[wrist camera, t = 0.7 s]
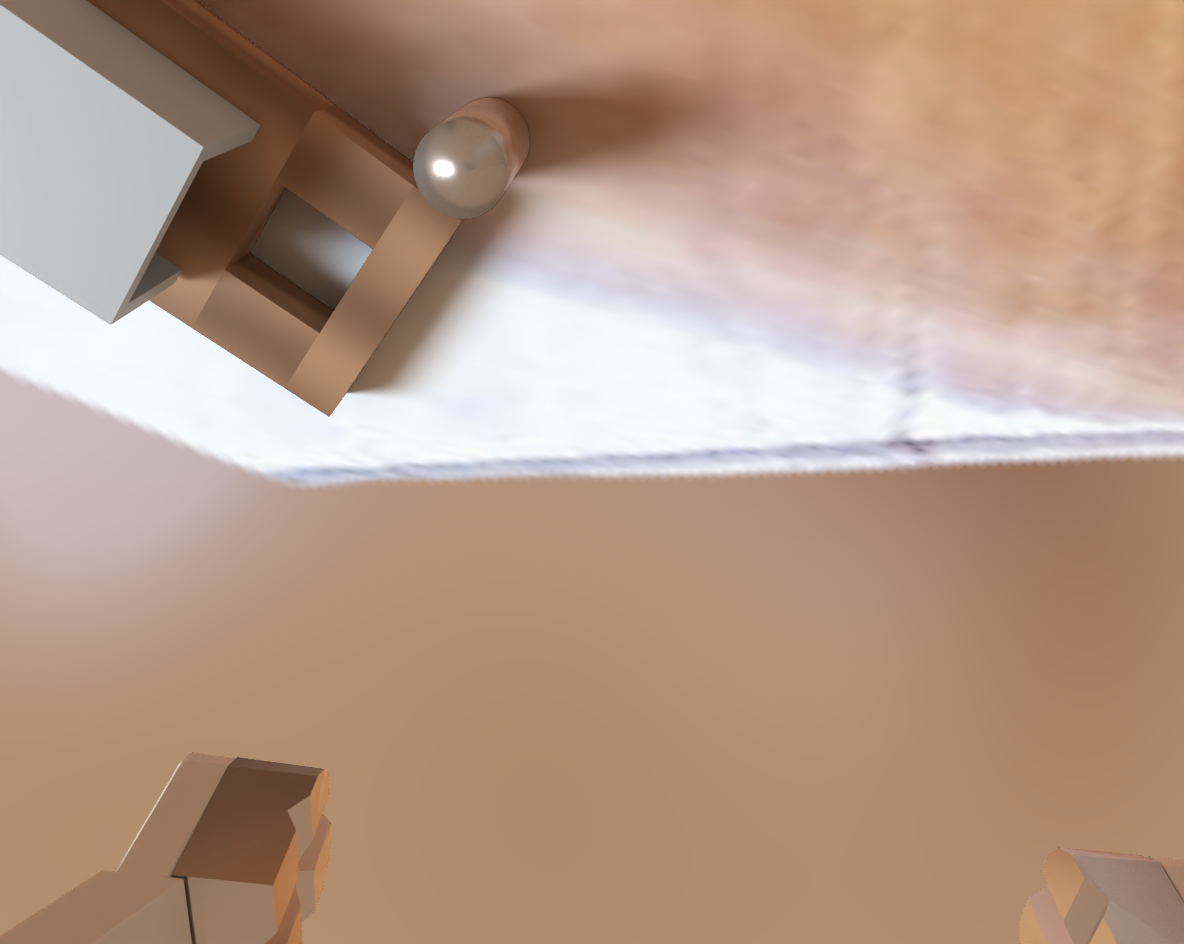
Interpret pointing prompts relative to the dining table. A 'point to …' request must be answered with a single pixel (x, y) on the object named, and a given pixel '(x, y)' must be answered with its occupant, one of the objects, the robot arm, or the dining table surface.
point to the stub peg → (471, 158)
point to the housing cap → (98, 151)
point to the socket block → (249, 195)
